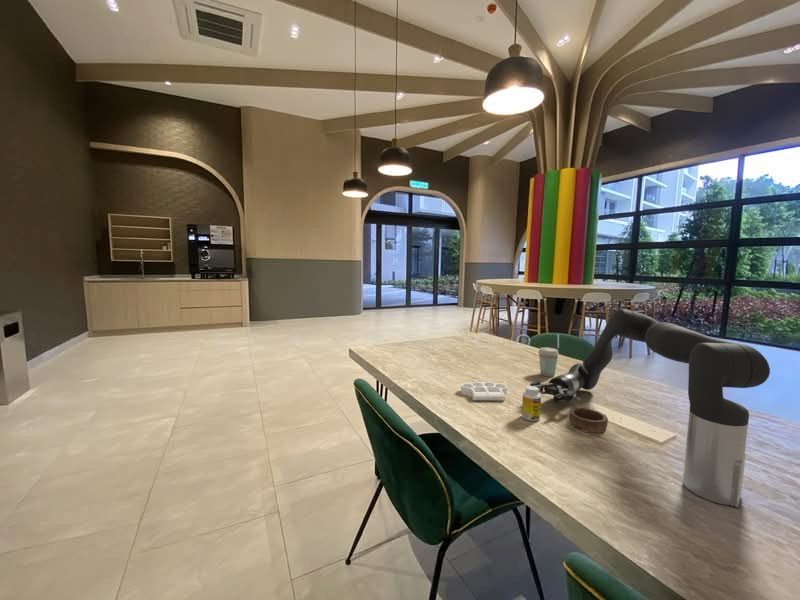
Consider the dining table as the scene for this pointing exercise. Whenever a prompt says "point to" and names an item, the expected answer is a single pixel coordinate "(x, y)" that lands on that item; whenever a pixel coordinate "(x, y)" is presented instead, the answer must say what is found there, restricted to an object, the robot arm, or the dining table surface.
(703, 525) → the dining table surface
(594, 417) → the brown wooden bowl
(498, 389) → the white brass knuckles
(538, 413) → the supplement bottle
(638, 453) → the dining table surface
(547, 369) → the coffee cup
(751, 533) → the dining table surface
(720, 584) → the dining table surface
